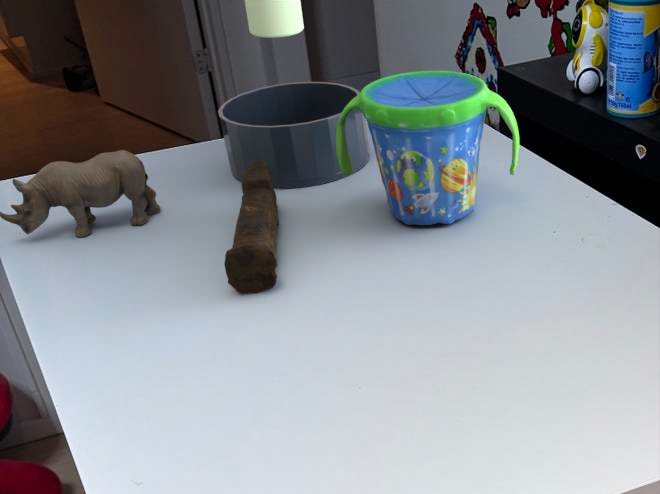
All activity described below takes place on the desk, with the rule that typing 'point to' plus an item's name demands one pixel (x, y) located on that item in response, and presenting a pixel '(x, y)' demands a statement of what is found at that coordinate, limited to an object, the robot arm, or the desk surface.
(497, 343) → the desk surface
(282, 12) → the candle
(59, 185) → the rhino figurine
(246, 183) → the brown rough bar
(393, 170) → the snack cup
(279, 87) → the tin
